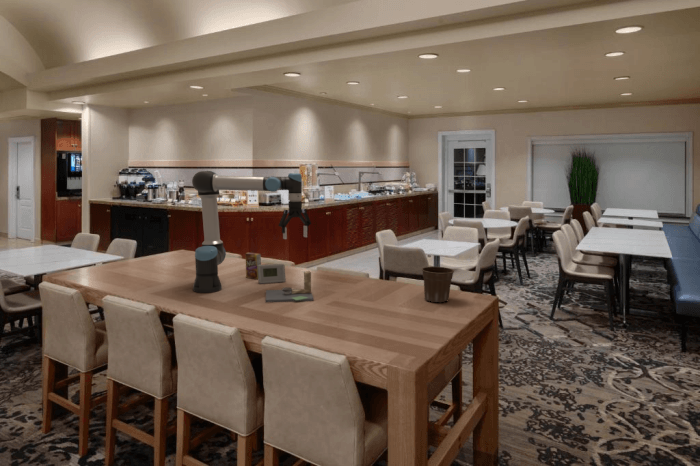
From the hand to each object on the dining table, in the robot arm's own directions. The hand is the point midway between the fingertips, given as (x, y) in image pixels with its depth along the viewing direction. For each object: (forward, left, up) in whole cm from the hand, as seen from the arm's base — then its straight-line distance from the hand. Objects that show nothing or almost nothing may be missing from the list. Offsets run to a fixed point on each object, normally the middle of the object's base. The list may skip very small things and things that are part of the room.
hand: (295, 238), depth 282 cm
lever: (-1, -25, -25) cm, 36 cm away
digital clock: (-14, +7, -28) cm, 31 cm away
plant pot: (+70, -43, -27) cm, 87 cm away
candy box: (-25, +20, -27) cm, 42 cm away
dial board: (-4, -27, -27) cm, 39 cm away
